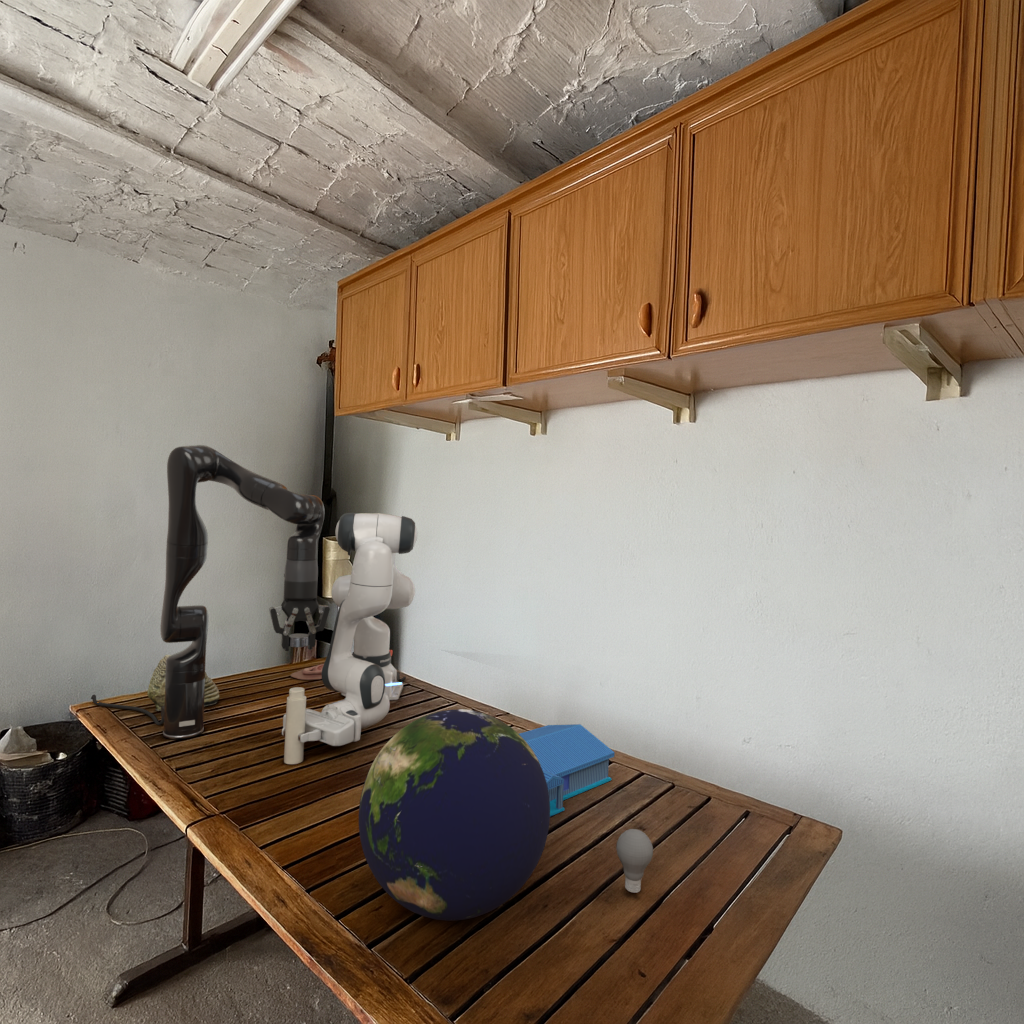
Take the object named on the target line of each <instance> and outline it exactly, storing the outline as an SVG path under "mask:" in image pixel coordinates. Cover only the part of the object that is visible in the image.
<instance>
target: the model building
mask: <svg viewBox="0 0 1024 1024" xmlns="http://www.w3.org/2000/svg"><path fill="white" fill-rule="evenodd" d="M518 734H519V735H520V736H521V737H522V738H523V739H524V740H525V741H526V742H527V744H528V745H529V746H530V747H531V749H532V750H533V752H534V753H535V755H536V757H537V759H538V760H539V763H540V765H541V768H542V770H543V773H544V776H545V779H546V782H547V787H548V792H549V800H550V817H553V816H555V815H558V814H559V813H562V812H564V811H565V810H566V809H565V807H564V805H563V804H564V801H565V800H568V799H570V798H572V797H575V796H577V795H580V794H582V793H585V792H587V791H589V790H591V789H594V788H597V787H599V786H601V785H603V784H606V783H609V782H610V781H612V779H613V778H612V777H610V776H609V766H610V765H609V763H610V759H612V758H614V757H615V751H613V750H612V749H611V748H610V747H609V746H608V745H606V744H605V743H604V742H603V741H601V740H600V738H598V737H597V736H595V735H594V734H593V733H592V732H591V731H589V730H588V729H587V728H586V727H584V726H583V725H582V724H580V723H578V724H576V723H575V724H548V725H547V724H546V725H544V726H541V727H537V728H533V729H530V730H526V731H524V732H520V733H518Z"/></svg>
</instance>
